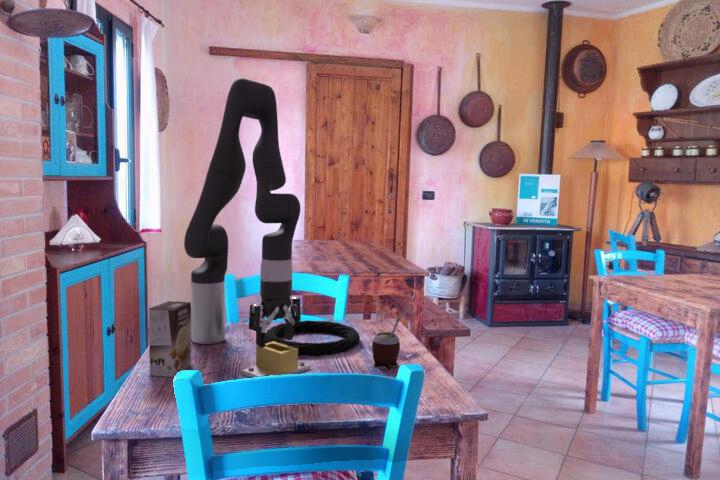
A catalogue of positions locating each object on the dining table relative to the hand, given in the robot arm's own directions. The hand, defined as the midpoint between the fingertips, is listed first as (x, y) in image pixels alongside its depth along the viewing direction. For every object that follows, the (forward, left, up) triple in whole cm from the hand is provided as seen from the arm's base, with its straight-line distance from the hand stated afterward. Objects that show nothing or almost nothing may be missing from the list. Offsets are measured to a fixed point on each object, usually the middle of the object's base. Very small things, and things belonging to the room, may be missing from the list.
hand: (275, 343), depth 135 cm
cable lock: (-11, +22, -8) cm, 26 cm away
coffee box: (-19, -17, -7) cm, 26 cm away
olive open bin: (0, 0, -6) cm, 6 cm away
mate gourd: (+17, +22, -7) cm, 29 cm away
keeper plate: (0, 0, -7) cm, 7 cm away
